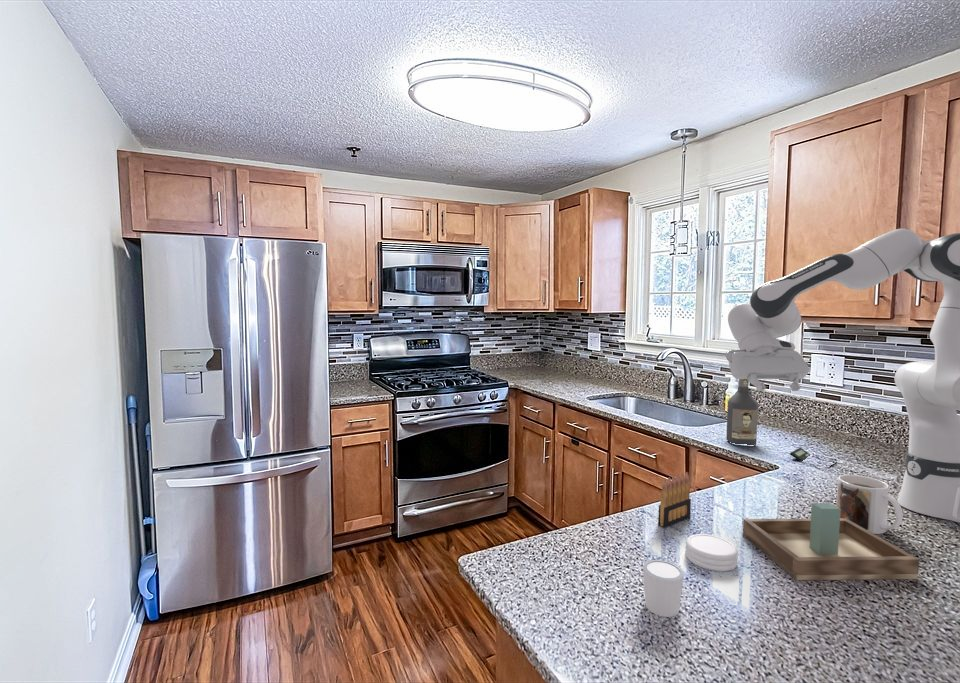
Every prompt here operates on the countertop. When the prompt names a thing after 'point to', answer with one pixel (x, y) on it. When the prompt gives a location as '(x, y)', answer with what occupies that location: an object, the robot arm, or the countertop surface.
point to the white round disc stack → (711, 552)
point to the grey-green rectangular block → (824, 528)
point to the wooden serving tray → (854, 560)
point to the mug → (866, 503)
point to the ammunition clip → (674, 501)
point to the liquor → (742, 416)
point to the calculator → (800, 454)
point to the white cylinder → (662, 587)
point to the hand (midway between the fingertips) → (779, 389)
